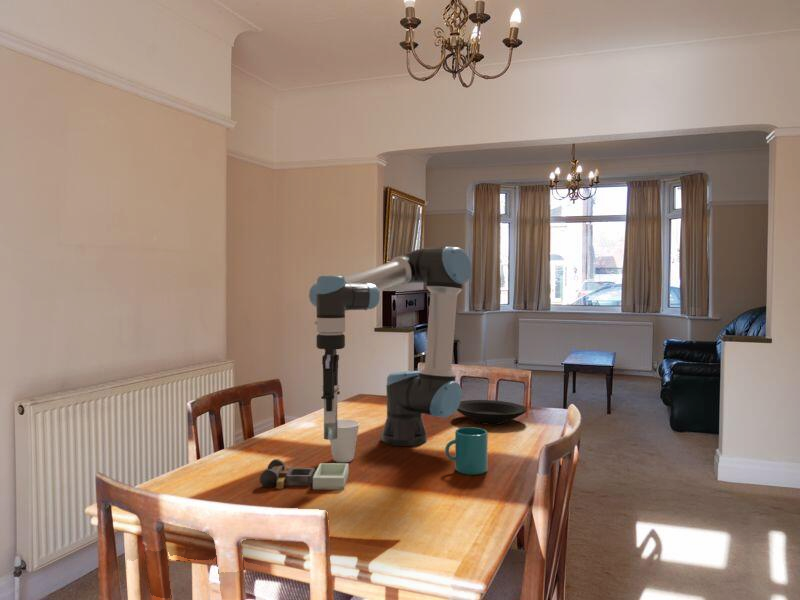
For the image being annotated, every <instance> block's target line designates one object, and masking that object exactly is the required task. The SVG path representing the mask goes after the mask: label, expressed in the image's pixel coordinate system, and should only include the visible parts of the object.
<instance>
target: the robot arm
mask: <svg viewBox="0 0 800 600" xmlns="http://www.w3.org/2000/svg"><path fill="white" fill-rule="evenodd" d="M471 275H472V262H471V259H470V257H469V256H468V254H467V252H466V251H465V250H464V249H463V248H460V247H457V246H441V247H423V248H419V249H415V250H412V251H409V252H407V253H406V252H405V253H404V254H401V255H398V256H395V257H393V258H392V259H391V261H389V262H386V263H383V264H380V265H378V266H374V267H370V268H368V269H365V270H364V269H363V270H361V271H359V272H356V273H353V274H349V275H346V276H344V275H320V276H318V277H317V279H316V283H314V284H312V286H311V287H310V288H309V292H308V298H309V301H310V303H311V304H312V306H314V307H315V308H316V320H314V325H316V332H317V333H318V334H317V335H316V348H317V349H318V350H324V354H323V355H322V359H321V360H322V363H321V364H322V386H323V390H322V392H323V393H322V396H321V399H322V400H323V424H324V423H335V398H334V385H339V384H338V383H339V373H338V372H339V360H340V354H337V350H342V349H344V348H345V347H346V344H345V343H346V336H345V334H344V333H345V332H346V311H360V310H361V311H367V310H372V309H374V308H376V307H377V306H378V304H379V303H380V299H381V298H380V297H381V296H380V291H383V290H385V289H387V288H390V287H391V288H392V287H394V286H396V285H400V286H405V285H407V284H414V283H415V284H416V283H417V284H419V283H420V284H421V283H423V284H426V287H425V288H426V289H427V291H428V292H429V293H430V298H429V309H428V321H427V323H428V324H427V336H426V347H425V348H426V349H425V362H424V366H423V368H422V369H421V370H406V371H398V372H393V373H390V374H388V375H387V377H386V378H387V379H386V420H385V422H384V426H383V429H382V432H381V442H382V443H384V444H387V445H391V446H399V447H409V446H411V447H413V446H417V445H422V444H424V443H426V442H427V441H428V440H427V439H428V438H427V431H426V428H425V425H424V421H423V418H422V414H425V415H430V416H432V417H435V418H438V417H440V418H448V417H451V416H453V415H454V414H455V413H456V411H457V409H458V407H459V405H460V403H461V401H462V398H463V390H462V388H461V385H460V383H459V382H457V381H456V379H457V377H456V375H457V374H455V372H454V371H453V354H454V352H453V351H454V340H455V331H456V330H455V328H456V325H455V324H456V316H457V303H458V302H457V301H458V298H457V297H458V295H459V294H460V293H461V292H462V291H463V284H466V283H467V282H468V281H469V279H470V278H471ZM340 393H341V392H340V391H339V390H337V395H340Z"/></svg>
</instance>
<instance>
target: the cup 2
mask: <svg viewBox="0 0 800 600" xmlns="http://www.w3.org/2000/svg"><path fill="white" fill-rule="evenodd" d="M454 433H455V436H454V439H453V440H449V442H448V443H447V444H446V445H445V450H444V452H445V455H446V457H447V458H448V459H449V460H451V461H452V462H453V461H454V463H455V466H454V467H455V470H456V471H457V472H458V473H459V474H463V475H470V476H475V475H477V476H478V475H482V474H485V473H486V472H487V471H488V434H489V433H488V431H487V430H486V429H483V428H482V427H481V428H480V427H474V426H473V427H471V426H470V427H469V426H468V427H467V426H466V427H460V428H457V429H456V430H455V432H454ZM454 444H455V446H454V447H455V450H454V453H455V454H454V455H455V456H452V455H451V454H450V447H451V446H452V445H454Z"/></svg>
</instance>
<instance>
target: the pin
mask: <svg viewBox="0 0 800 600" xmlns="http://www.w3.org/2000/svg"><path fill="white" fill-rule="evenodd" d="M321 388H322V391H323V385H322V386H321ZM337 390H338V391H339V390H340V386H339V384H338V385H334V398H335V423H324V422H323V439H324V440H327V441H328V440H329V441H330V440H334V439H337V420H338V394H337Z"/></svg>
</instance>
